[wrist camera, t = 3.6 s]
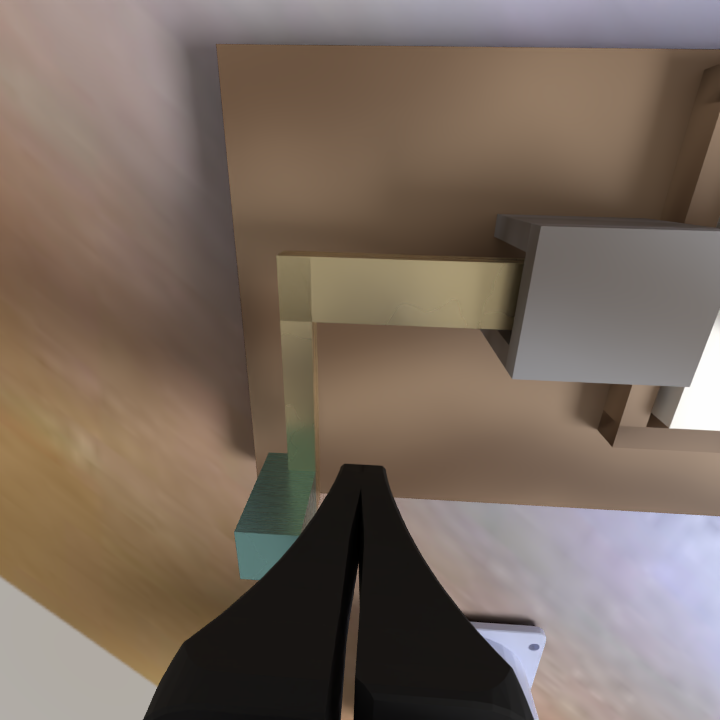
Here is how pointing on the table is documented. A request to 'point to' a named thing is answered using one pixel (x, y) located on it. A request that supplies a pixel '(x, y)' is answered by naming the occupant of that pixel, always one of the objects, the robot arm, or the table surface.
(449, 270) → the latch bolt
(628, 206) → the walnut base
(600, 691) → the table surface
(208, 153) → the table surface
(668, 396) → the cover
